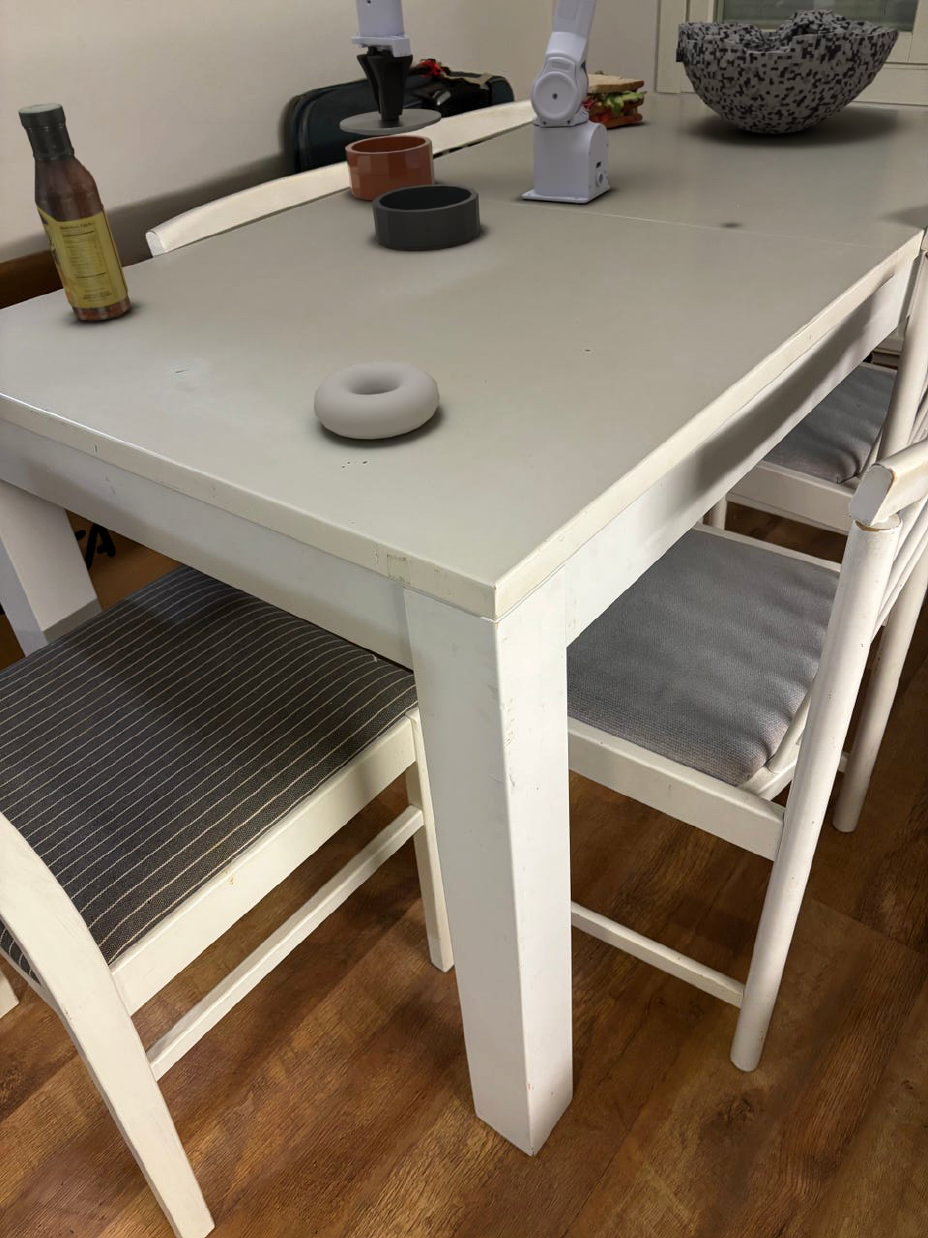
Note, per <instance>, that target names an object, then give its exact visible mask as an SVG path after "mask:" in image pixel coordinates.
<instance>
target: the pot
mask: <svg viewBox="0 0 928 1238" xmlns="http://www.w3.org/2000/svg"><path fill="white" fill-rule="evenodd" d="M344 151H345V158H346V167H347V172H348V180H349V181H348V182H349V187H350V192H351V196H353V197H354V198H356V199H359V200H364V201H366V200H367V201H373V200H374V199H375V198H376V197H377V196H379V195H382V194H384V193H386V192H389V191H392V190H396V189H400V188H405V187H412V186H420V185H432V184H435V183H436V175H435V163H434V150H433V140H432V139H431V138H429V137H427V136H422V135H413V134H394V135H382V136H376V137H375V136H374V137H370V138H365V139H361V140H357V141H354V142H352V143H349V144H348V145H346V146H345V147H344Z"/></svg>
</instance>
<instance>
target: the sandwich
mask: <svg viewBox="0 0 928 1238" xmlns="http://www.w3.org/2000/svg"><path fill="white" fill-rule="evenodd" d="M588 77H589V89H588V93H587V95H586V97H585V99H584V101H583V102H582V103H581V105H582V106H583V107H584V108H585V110H586V112H588V113H589V119H588V120H590V121H591V122H593V123H600V124H603V125H604V126H605V127H606V129H608V128H609V129H610V128H614V127H619V126H623V125H628V124H632V123H638V122H641V121H642V120H643V118H644V117H643V115H642V114H641V113H640V112H638V107H641V106H642V105H643V104H644V102H645V96H646V95H647V94H648V90H645V91H641V92H638V90H639V89H642V88H643V87H644V86H645V80H643V79H633V78H623V76H622V75H621V76H616V75H611V74H607V73H606V72H603V70H602V69H600V70H597V71H595V72H593V73H588Z"/></svg>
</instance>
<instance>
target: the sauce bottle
mask: <svg viewBox="0 0 928 1238" xmlns="http://www.w3.org/2000/svg"><path fill="white" fill-rule="evenodd" d="M17 112H18V116H19V120H20V124H21V126H22V128H23V129H24V130H25V133H26V137H27V139H28V142H29V145H30V147H31V151H32V157H33V159H34V203H35V207H36V209H37V210H36V211H37V213H38V215H39V219H40V221H41V225H42V227H43V230H44V234H45V236H46V239H47V243H48V246H49V248H50V251H51V254H52V257H53V261H54V263H55V266H56V269H57V272H58V275H59V278H60V281H61V284H62V287H63V290H64V294H65V297H66V299H67V302H68V304H69V305H70V306H71V309H72V311H73V314H74V315H75V316H76V317H77V319H78V320H80V321H90V322H91V321H93V322H95V321H102V320H111V319H115V318H119V317H120V316H121V315H123V314H125V313H127V312H128V311H129V310H130V309H131V306H132V303H131V299H130V297H129V294H128V293H129V288H128V283H127V280H126V277H125V273H124V270H123V267H122V264H121V259H120V256H119V253H118V250H117V246H116V243H115V239H114V236H113V233H112V228H111V226H110V222H109V219H108V216H107V213H106V209H105V205H104V204H103V202H102V199H101V197H100V192H99V189H98V185H97V183H96V180H95V178H94V176H93V175H92V174H91V171H89V170H88V169H87V168H86V166H85V165H84V164H82V162H81V161H80V160H79V159H78V158H77V157H76V156H75V153H76V152H75V151H76V150H75V148H74V146H73V143H72V141H71V137H70V135H69V130H68V126H67V118H66V114H65V110H64V107H63V105H62V104H61V103H59V102H58V103H57V102H46V103H37V104H32V105H28V106H24V107H21V108H19V109H18V110H17Z"/></svg>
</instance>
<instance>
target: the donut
mask: <svg viewBox="0 0 928 1238" xmlns="http://www.w3.org/2000/svg"><path fill="white" fill-rule="evenodd" d="M439 404H440V391H439V387H438V383H437V381H436V380H435V378H434V377H433V376H432V375H431V374H430V373H429V372H428V371H427V370H426V369H424V368H423V367H421V366H418V365H415V364H413V363H408V362H405V361H397V360H375V361H365V362H360V363H357V364H352V365H349V366H347V367H344V368H341V369H339V370H336V371H335V372H333V373H331V374H329V376H327V377H325V379H323V381H322V382H321V383H320V384H319V385H318V386H317V388H316V390H315V393H314V396H313V411H314V414H315V416H316V417H317V419H318V420H319V421H320V423H321V424H322V425H323V426H324V428H326V429H327V430H328V431H330V432H333V433H335V434H336V435H339V436H341V437H345V438H351V439H357V440H378V439H388V438H392V437H395V436H400V435H404V434H407V433H409V432H411V431H413V430H416V429H418V428H420V427H421V426H423V425H424V424H425V423H427V421H429V420H430V419H431V418H432V417H433V415H434V414H435V412H436V411H437V408H438V406H439Z"/></svg>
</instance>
